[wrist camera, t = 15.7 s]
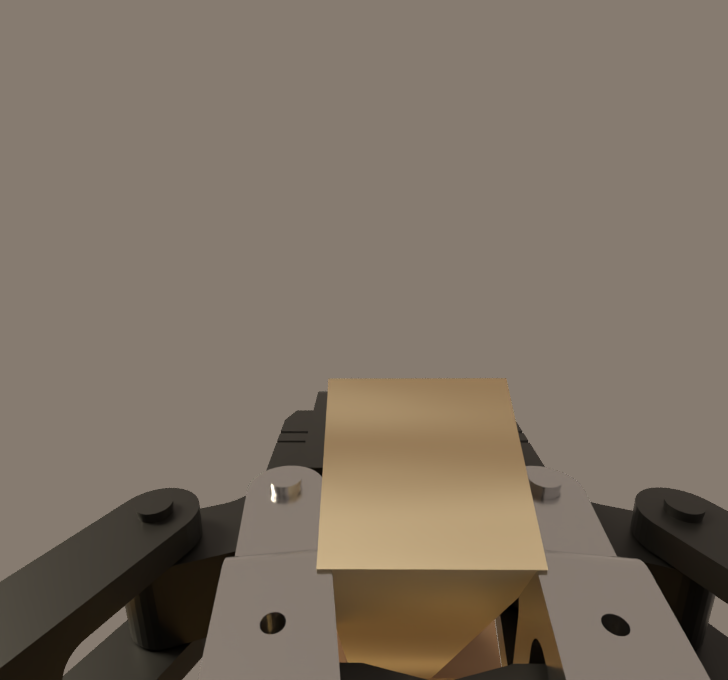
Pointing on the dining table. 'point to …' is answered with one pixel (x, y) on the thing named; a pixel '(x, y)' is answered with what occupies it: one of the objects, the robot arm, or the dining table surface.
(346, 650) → the block
